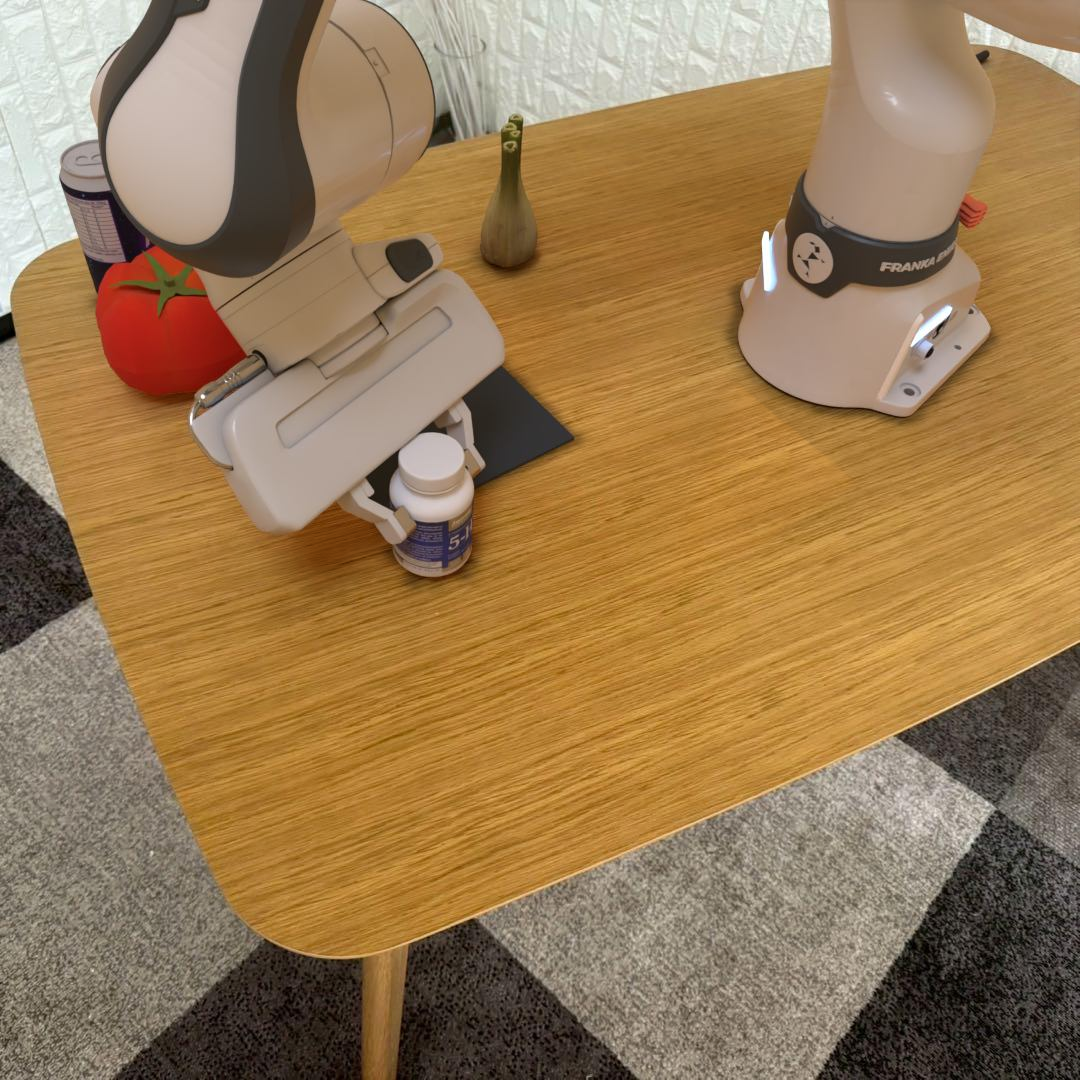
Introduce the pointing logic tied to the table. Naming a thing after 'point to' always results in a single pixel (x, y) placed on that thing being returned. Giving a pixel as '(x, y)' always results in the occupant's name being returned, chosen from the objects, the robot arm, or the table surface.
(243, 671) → the table surface
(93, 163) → the beverage can
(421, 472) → the pill bottle
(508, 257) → the fennel bulb
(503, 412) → the mat
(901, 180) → the robot arm
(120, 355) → the tomato
